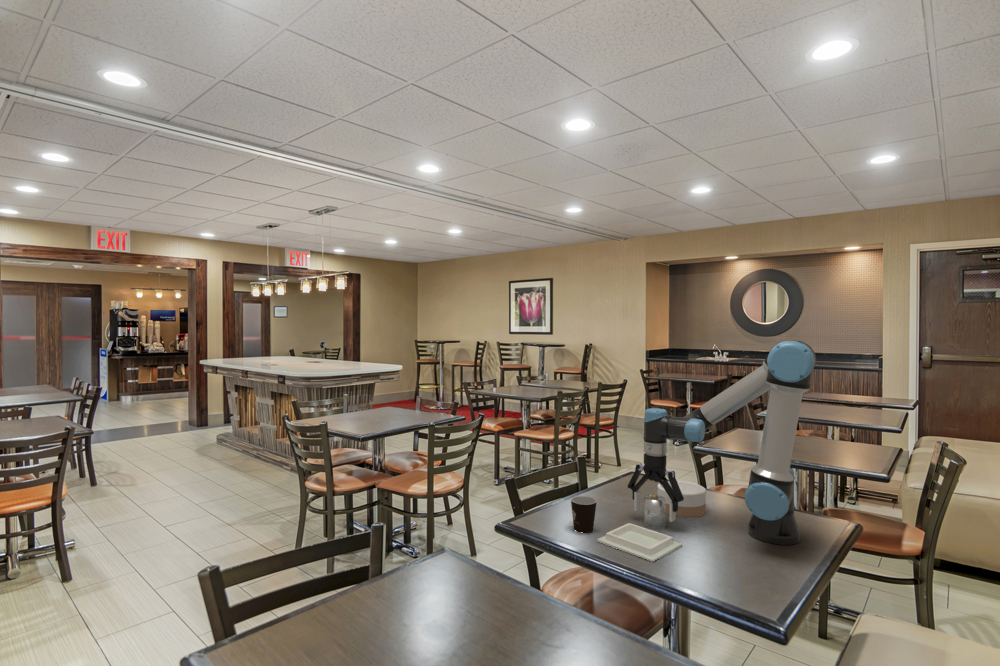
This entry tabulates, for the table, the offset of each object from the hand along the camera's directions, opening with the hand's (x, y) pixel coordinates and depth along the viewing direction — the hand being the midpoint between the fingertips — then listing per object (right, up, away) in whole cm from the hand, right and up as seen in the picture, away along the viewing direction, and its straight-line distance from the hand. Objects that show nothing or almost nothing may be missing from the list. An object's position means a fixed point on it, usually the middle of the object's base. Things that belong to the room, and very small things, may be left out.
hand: (654, 515), depth 179 cm
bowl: (+15, -4, +16) cm, 22 cm away
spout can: (0, -4, 0) cm, 4 cm away
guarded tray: (-9, -4, -16) cm, 19 cm away
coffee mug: (-25, -4, -2) cm, 25 cm away
